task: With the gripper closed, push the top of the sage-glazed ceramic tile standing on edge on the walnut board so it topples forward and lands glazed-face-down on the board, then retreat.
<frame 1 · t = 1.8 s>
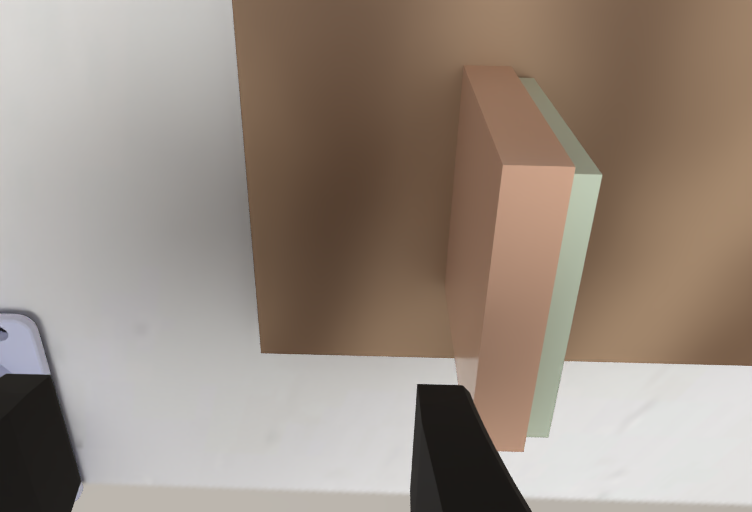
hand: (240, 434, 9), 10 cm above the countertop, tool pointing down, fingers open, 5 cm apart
tile: (484, 186, 17), point 1 cm above the countertop, touching board
board: (554, 169, 18), on the countertop
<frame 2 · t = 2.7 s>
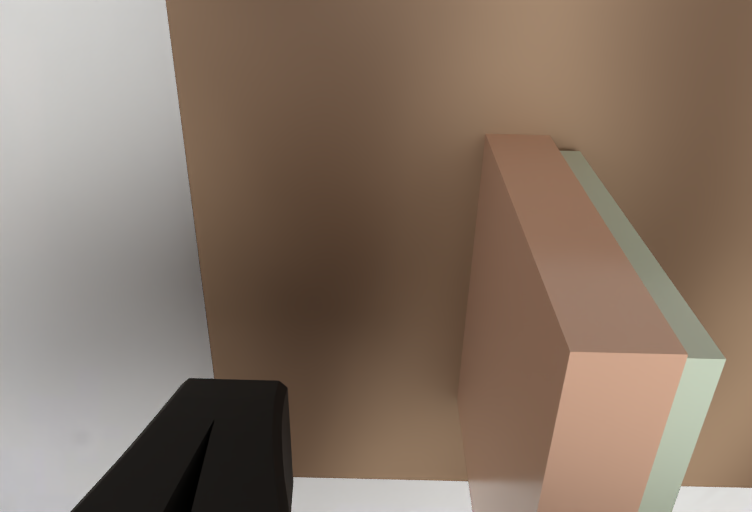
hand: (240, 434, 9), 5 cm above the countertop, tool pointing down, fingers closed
tile: (510, 283, 13), point 1 cm above the countertop, touching board
board: (596, 254, 14), on the countertop
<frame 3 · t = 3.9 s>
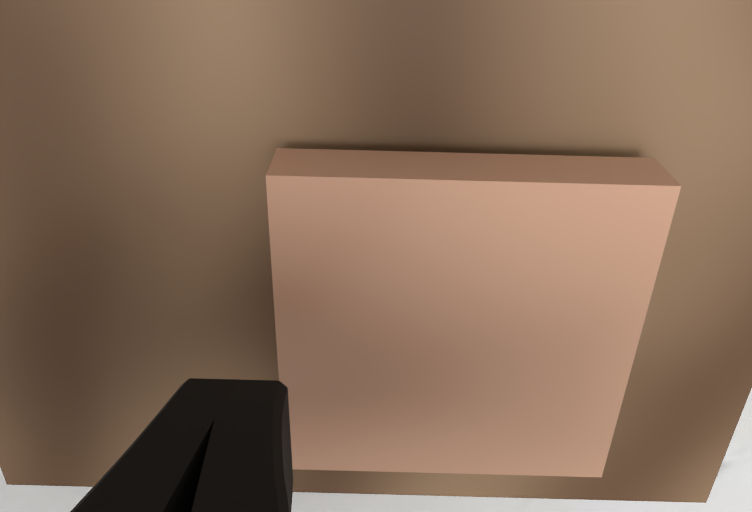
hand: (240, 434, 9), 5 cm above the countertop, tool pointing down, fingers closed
tile: (282, 314, 12), point 2 cm above the countertop, tilted 90°, touching board
board: (360, 259, 14), on the countertop
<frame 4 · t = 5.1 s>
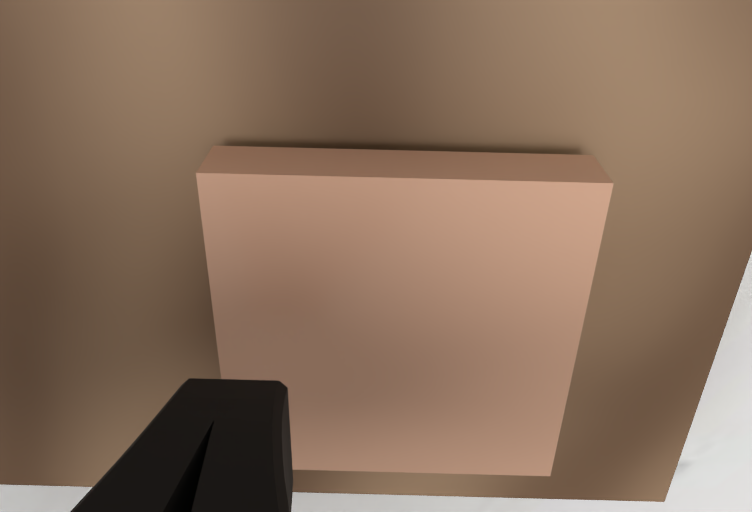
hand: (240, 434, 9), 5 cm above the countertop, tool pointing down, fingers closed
tile: (226, 312, 12), point 2 cm above the countertop, tilted 90°, touching board
board: (312, 257, 13), on the countertop
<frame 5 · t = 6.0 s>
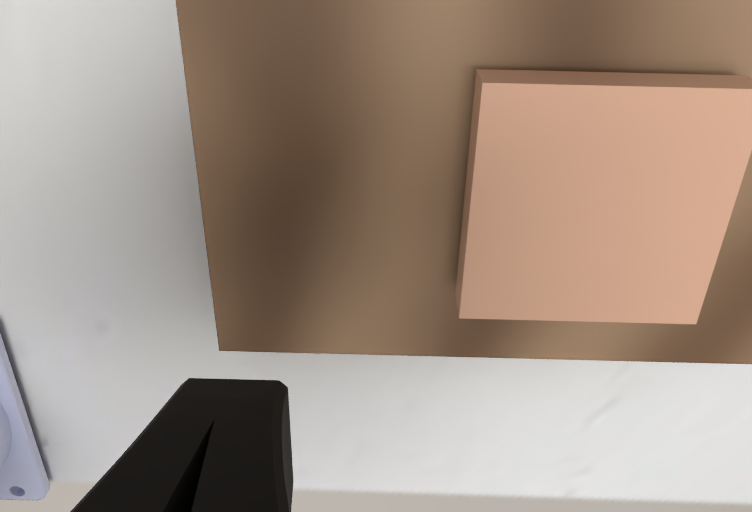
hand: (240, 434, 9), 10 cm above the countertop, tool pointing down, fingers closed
tile: (466, 197, 16), point 2 cm above the countertop, tilted 90°, touching board
board: (507, 166, 18), on the countertop
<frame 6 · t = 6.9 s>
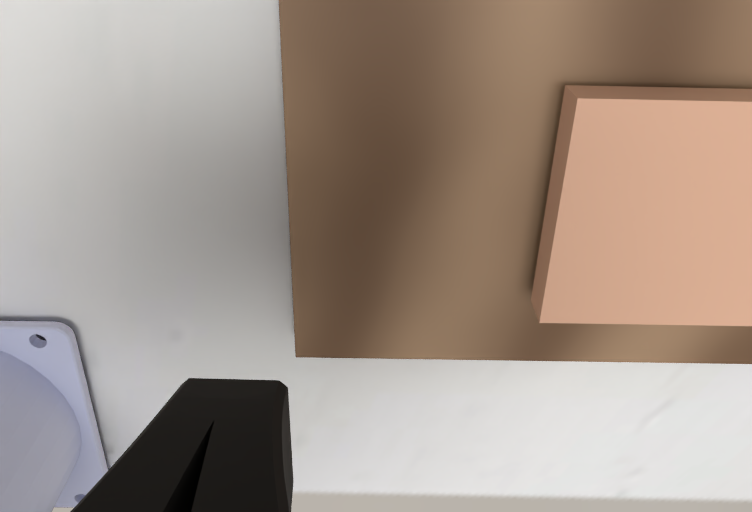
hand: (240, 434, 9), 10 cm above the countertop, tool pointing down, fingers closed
tile: (549, 206, 17), point 2 cm above the countertop, tilted 90°, touching board
board: (579, 177, 19), on the countertop
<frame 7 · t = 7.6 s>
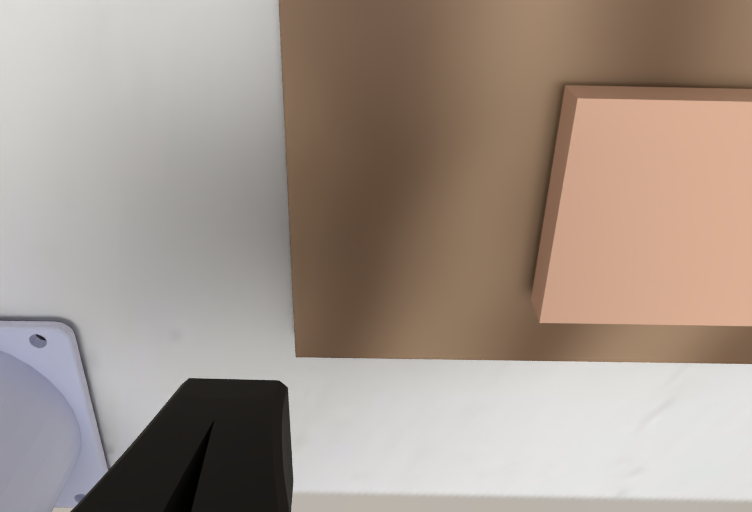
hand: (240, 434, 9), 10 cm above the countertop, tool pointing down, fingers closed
tile: (549, 206, 17), point 2 cm above the countertop, tilted 90°, touching board
board: (579, 177, 19), on the countertop
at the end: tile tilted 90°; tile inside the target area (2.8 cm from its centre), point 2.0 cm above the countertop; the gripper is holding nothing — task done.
